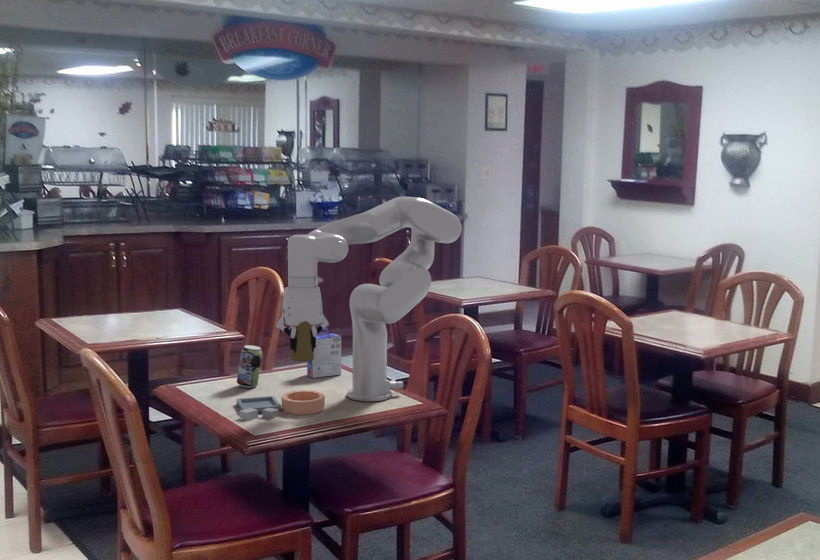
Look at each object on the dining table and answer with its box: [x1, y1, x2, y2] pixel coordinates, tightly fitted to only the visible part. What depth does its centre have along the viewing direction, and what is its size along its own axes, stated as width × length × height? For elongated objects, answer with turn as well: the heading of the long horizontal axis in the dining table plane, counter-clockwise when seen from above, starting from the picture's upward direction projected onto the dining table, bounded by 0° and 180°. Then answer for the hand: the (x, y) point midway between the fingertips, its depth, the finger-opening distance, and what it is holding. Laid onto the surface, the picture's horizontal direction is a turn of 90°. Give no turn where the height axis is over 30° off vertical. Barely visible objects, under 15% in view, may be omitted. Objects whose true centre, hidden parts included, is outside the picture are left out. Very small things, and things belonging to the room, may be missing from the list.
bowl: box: [280, 389, 326, 416], centre depth 229 cm, size 11×11×4 cm
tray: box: [236, 395, 282, 414], centre depth 230 cm, size 10×10×2 cm
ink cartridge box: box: [306, 326, 342, 379], centre depth 265 cm, size 10×6×14 cm, turn 119°
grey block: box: [261, 408, 280, 420], centre depth 223 cm, size 3×3×2 cm
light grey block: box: [239, 408, 259, 421], centre depth 221 cm, size 4×3×2 cm
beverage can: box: [236, 344, 263, 389], centre depth 250 cm, size 6×7×12 cm
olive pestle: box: [290, 321, 314, 363], centre depth 227 cm, size 6×6×11 cm
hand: (302, 350), depth 227 cm, fingers closed on olive pestle, 3 cm apart
